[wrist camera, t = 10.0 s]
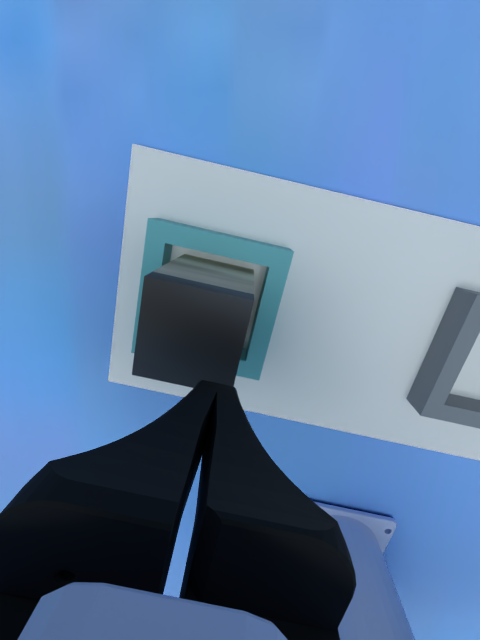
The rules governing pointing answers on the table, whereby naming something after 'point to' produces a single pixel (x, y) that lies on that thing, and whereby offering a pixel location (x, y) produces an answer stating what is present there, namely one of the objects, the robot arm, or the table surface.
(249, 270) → the plug
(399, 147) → the table surface
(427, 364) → the panel
